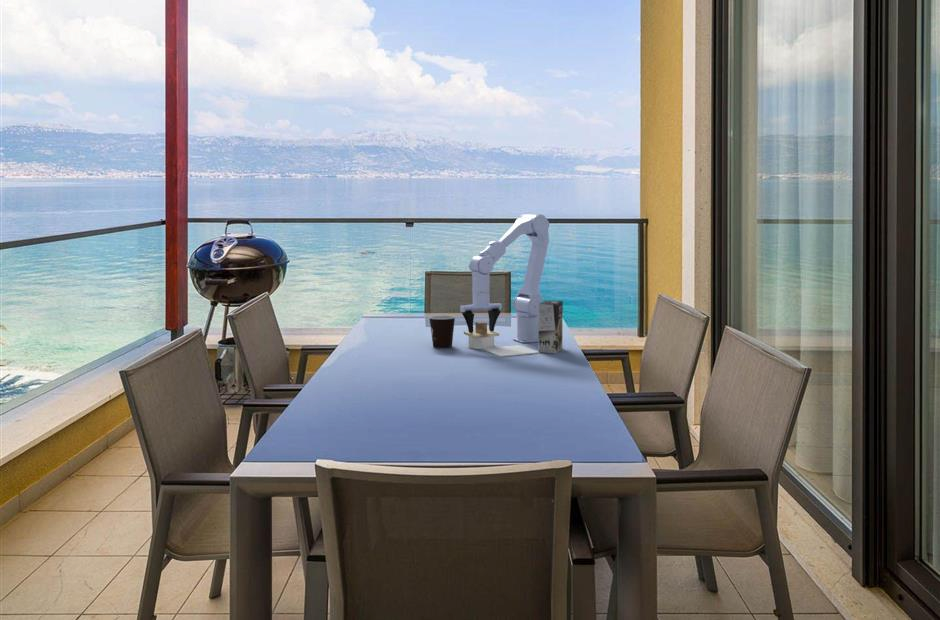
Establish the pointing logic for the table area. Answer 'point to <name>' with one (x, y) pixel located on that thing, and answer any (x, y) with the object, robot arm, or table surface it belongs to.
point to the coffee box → (550, 326)
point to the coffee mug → (442, 330)
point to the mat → (510, 351)
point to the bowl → (481, 342)
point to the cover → (481, 331)
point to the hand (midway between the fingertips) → (481, 331)
